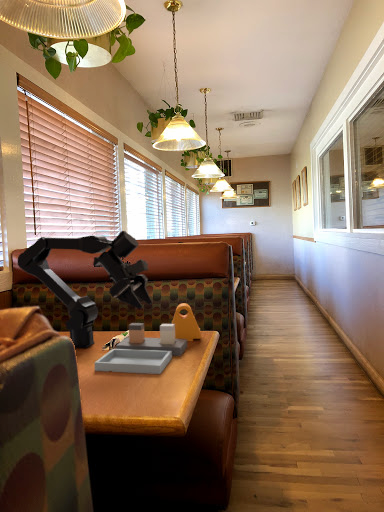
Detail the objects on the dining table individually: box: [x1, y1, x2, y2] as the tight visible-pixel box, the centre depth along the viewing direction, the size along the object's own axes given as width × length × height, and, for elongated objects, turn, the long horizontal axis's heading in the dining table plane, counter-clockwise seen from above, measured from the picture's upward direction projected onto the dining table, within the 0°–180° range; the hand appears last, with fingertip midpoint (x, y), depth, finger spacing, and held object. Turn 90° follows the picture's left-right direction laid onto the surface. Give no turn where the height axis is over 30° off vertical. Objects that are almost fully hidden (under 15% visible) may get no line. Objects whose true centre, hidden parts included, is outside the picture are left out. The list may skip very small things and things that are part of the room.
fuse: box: [159, 323, 175, 345], centre depth 114 cm, size 4×3×8 cm
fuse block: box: [115, 336, 188, 357], centre depth 115 cm, size 20×9×2 cm, turn 79°
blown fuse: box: [128, 322, 146, 343], centre depth 116 cm, size 4×3×8 cm
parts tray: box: [94, 348, 173, 375], centre depth 102 cm, size 18×12×2 cm, turn 79°
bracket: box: [171, 302, 202, 342], centre depth 127 cm, size 11×7×12 cm, turn 92°
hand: (146, 305), depth 115 cm, fingers open, 9 cm apart
